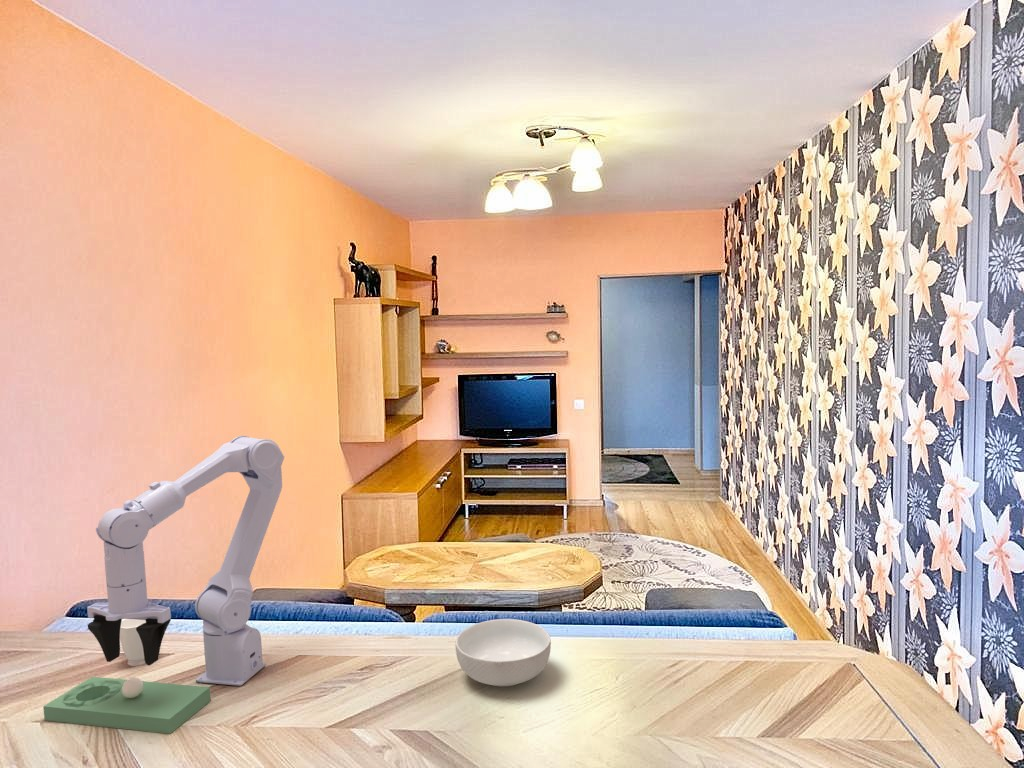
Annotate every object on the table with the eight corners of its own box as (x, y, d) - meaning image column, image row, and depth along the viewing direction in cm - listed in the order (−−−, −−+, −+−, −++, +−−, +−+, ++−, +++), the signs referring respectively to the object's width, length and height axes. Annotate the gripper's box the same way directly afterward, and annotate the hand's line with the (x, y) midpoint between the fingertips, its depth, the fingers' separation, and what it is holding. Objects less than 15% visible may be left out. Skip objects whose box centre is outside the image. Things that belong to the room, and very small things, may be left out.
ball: (148, 692, 119) (146, 674, 118) (134, 702, 115) (132, 684, 115) (132, 691, 119) (130, 673, 119) (117, 701, 116) (116, 682, 116)
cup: (125, 673, 131) (121, 631, 131) (110, 656, 138) (107, 616, 138) (165, 660, 136) (162, 619, 135) (149, 644, 143) (146, 606, 143)
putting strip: (210, 700, 120) (209, 687, 120) (170, 733, 110) (169, 719, 110) (93, 689, 125) (91, 676, 125) (44, 720, 116) (43, 706, 115)
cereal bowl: (440, 691, 120) (438, 651, 120) (480, 649, 136) (478, 614, 135) (532, 708, 114) (531, 666, 114) (563, 662, 129) (562, 625, 129)
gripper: (69, 587, 113) (76, 668, 114) (146, 592, 110) (152, 675, 111) (103, 573, 120) (109, 649, 121) (177, 576, 117) (182, 655, 118)
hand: (132, 660), depth 117 cm, fingers open, 7 cm apart
